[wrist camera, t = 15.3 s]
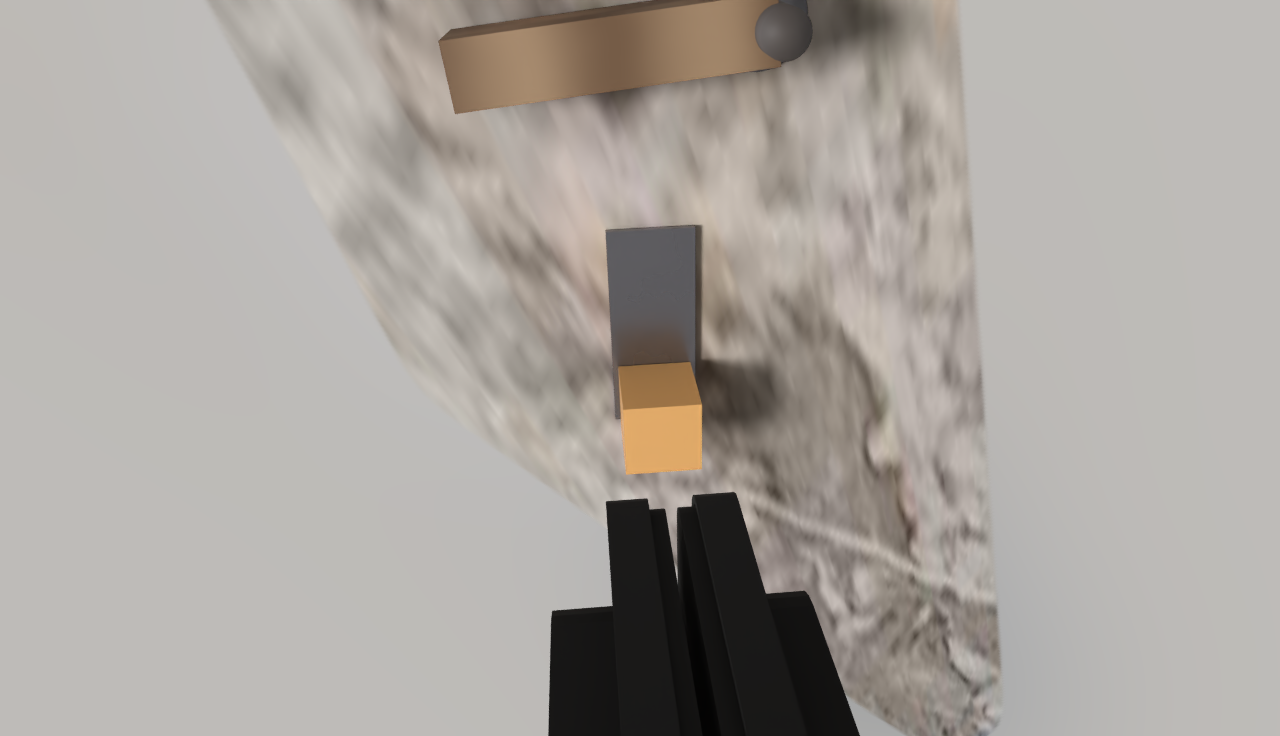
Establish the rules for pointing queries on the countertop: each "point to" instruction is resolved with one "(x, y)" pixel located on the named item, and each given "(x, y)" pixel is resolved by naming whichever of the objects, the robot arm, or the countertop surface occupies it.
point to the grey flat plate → (651, 297)
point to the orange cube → (660, 418)
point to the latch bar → (617, 49)
